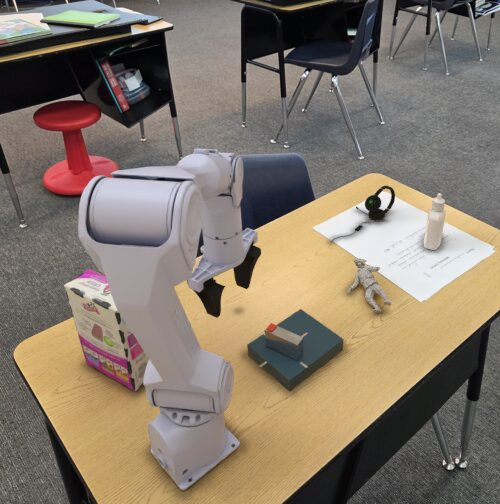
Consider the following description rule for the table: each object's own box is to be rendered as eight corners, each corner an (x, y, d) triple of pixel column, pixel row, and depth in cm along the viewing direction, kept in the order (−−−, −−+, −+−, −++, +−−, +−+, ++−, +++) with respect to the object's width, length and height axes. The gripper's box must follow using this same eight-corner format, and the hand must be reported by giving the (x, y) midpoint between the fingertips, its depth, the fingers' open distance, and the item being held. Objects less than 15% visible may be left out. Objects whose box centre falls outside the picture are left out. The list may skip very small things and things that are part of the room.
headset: (321, 249, 123) (379, 193, 129) (343, 263, 118) (402, 204, 124) (312, 229, 118) (372, 173, 125) (334, 242, 113) (396, 183, 120)
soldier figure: (360, 321, 96) (332, 268, 103) (373, 325, 100) (345, 273, 107) (394, 296, 94) (363, 243, 101) (406, 301, 98) (375, 249, 104)
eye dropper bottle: (415, 243, 115) (422, 194, 108) (432, 233, 118) (440, 185, 111) (431, 252, 112) (439, 203, 106) (448, 242, 115) (457, 194, 109)
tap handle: (303, 353, 85) (303, 336, 83) (297, 361, 84) (297, 343, 82) (271, 338, 88) (271, 321, 86) (265, 346, 86) (264, 328, 84)
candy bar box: (158, 371, 85) (143, 291, 77) (135, 393, 82) (116, 312, 73) (109, 344, 90) (89, 266, 82) (84, 364, 87) (61, 284, 78)
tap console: (282, 398, 81) (282, 386, 80) (239, 360, 87) (238, 348, 86) (343, 350, 89) (344, 338, 88) (300, 319, 95) (300, 307, 94)
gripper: (230, 199, 86) (235, 267, 93) (166, 245, 75) (178, 318, 82) (267, 211, 82) (270, 280, 90) (206, 261, 72) (215, 335, 79)
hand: (228, 299), depth 86 cm, fingers open, 7 cm apart
